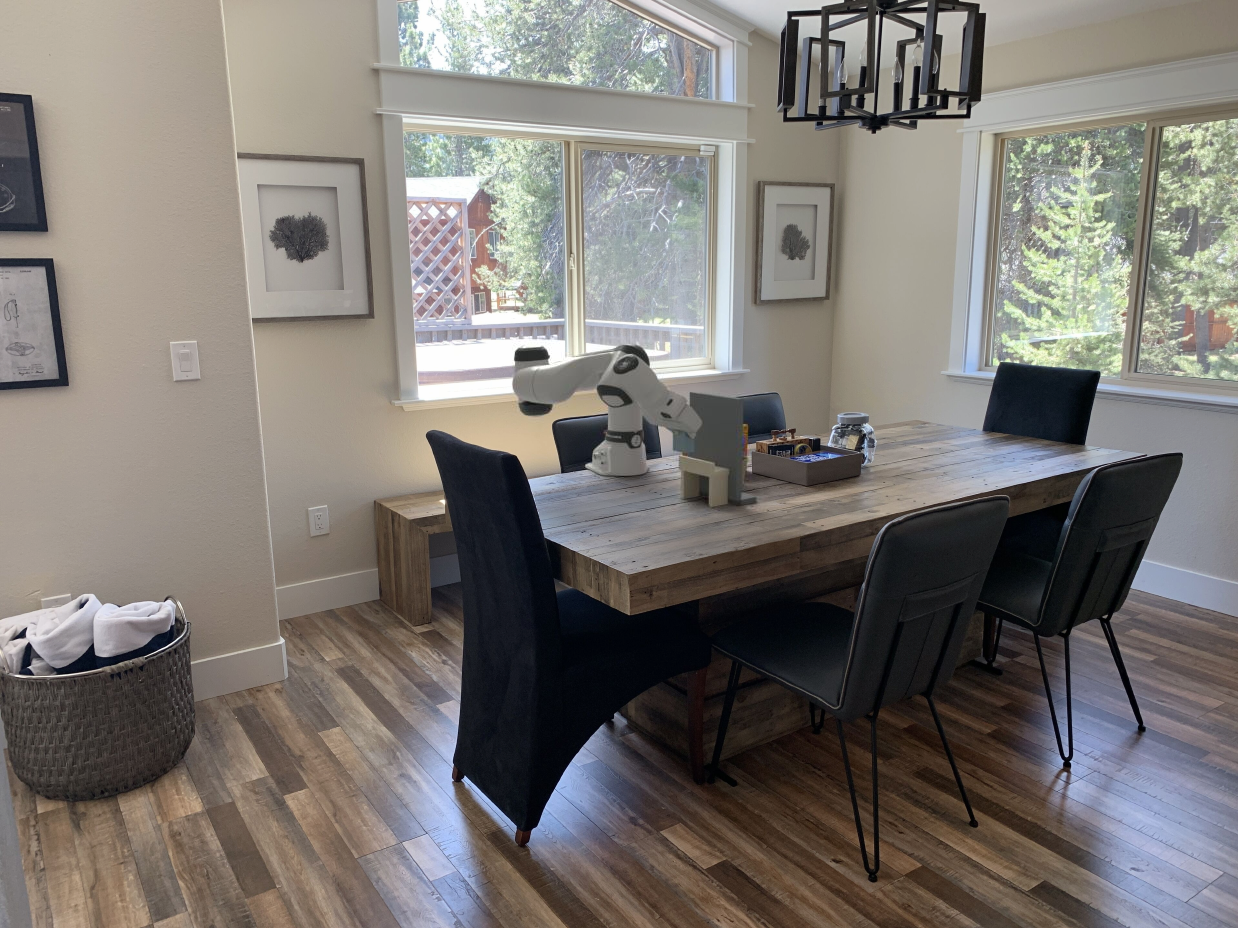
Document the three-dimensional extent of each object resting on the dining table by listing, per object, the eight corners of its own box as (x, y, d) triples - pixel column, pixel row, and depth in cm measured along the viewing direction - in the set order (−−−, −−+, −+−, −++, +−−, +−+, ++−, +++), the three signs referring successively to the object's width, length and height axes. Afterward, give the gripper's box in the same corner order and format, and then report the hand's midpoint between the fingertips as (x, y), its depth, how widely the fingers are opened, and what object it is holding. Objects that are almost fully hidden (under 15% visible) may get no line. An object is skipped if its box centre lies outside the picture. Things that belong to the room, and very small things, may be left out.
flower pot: (724, 490, 271) (724, 461, 270) (712, 483, 280) (713, 455, 279) (753, 487, 274) (754, 459, 272) (741, 481, 283) (741, 454, 281)
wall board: (671, 496, 264) (672, 393, 258) (708, 489, 273) (710, 389, 267) (718, 509, 248) (720, 401, 242) (756, 501, 257) (759, 396, 251)
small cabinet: (670, 450, 251) (670, 422, 249) (682, 449, 253) (682, 420, 252) (682, 453, 247) (682, 424, 245) (694, 451, 249) (694, 422, 248)
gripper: (627, 407, 249) (655, 438, 257) (675, 416, 233) (703, 449, 241) (640, 390, 251) (667, 421, 259) (689, 397, 235) (716, 430, 243)
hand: (685, 435), depth 250 cm, fingers closed on small cabinet, 5 cm apart
